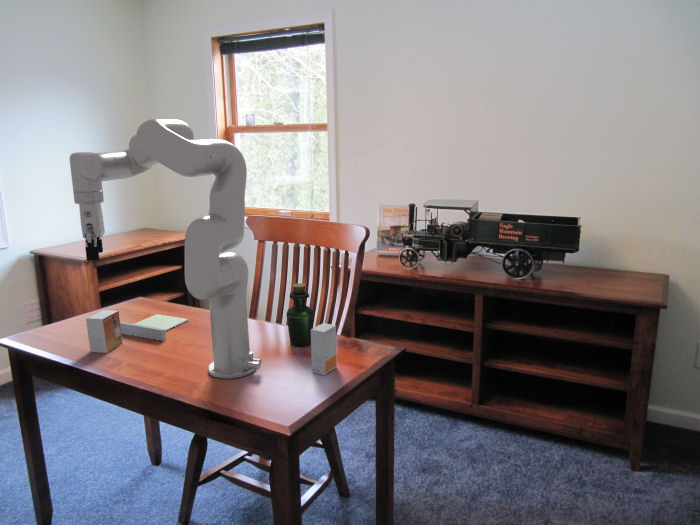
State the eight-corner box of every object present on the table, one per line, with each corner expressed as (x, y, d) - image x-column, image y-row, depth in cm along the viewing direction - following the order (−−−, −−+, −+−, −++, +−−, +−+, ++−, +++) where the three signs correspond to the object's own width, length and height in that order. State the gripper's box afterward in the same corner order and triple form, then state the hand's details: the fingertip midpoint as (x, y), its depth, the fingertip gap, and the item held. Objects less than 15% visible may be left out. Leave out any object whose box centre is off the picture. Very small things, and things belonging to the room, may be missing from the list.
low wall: (165, 339, 169) (164, 329, 168) (163, 341, 168) (161, 330, 167) (108, 329, 179) (107, 319, 178) (105, 330, 178) (104, 320, 177)
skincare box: (324, 376, 143) (323, 332, 140) (311, 372, 145) (309, 329, 142) (337, 367, 148) (336, 325, 145) (324, 364, 150) (323, 322, 147)
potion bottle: (312, 348, 160) (310, 289, 156) (284, 348, 161) (281, 288, 157) (317, 338, 168) (315, 281, 164) (291, 337, 169) (288, 281, 165)
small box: (106, 353, 160) (102, 319, 157) (89, 352, 161) (85, 318, 158) (123, 343, 167) (119, 310, 165) (106, 342, 168) (102, 309, 166)
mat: (188, 320, 186) (188, 319, 186) (158, 334, 173) (158, 333, 173) (157, 315, 191) (156, 314, 191) (125, 329, 179) (125, 327, 179)
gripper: (100, 201, 148) (106, 262, 152) (106, 193, 164) (111, 249, 168) (69, 201, 146) (76, 264, 150) (78, 193, 162) (85, 250, 166)
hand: (95, 256), depth 159 cm, fingers open, 9 cm apart
